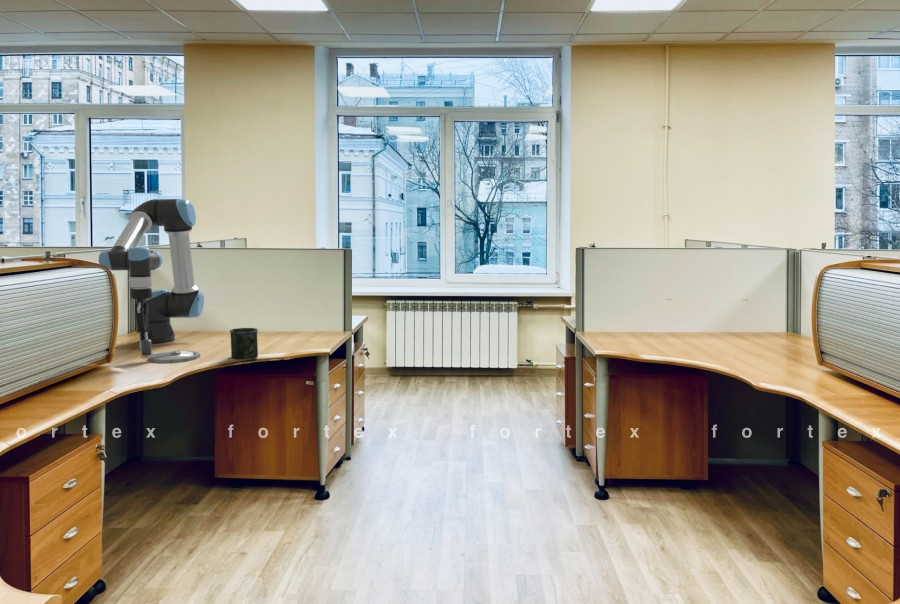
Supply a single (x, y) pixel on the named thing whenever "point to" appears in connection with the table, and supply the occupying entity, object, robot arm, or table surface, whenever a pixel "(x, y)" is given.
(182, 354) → the dial
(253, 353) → the mug
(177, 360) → the panel
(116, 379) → the table surface
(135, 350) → the table surface
